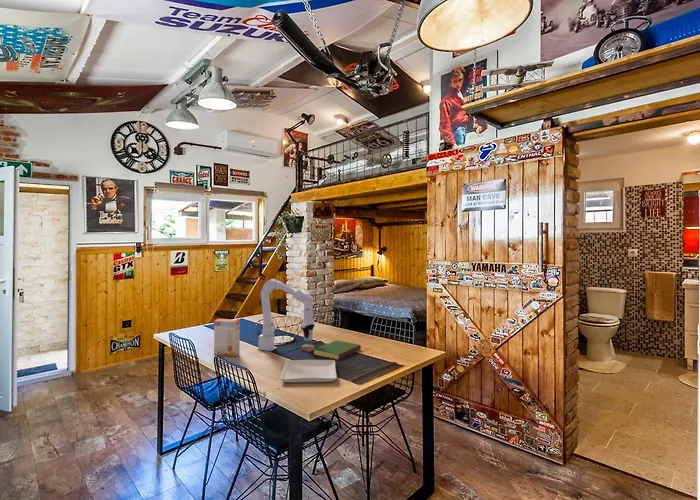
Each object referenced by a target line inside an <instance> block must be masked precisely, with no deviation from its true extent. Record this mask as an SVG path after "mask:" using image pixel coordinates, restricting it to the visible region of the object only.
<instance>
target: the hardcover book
mask: <svg viewBox="0 0 700 500" xmlns="http://www.w3.org/2000/svg"><path fill="white" fill-rule="evenodd" d="M361 349H362V348H361V344H358V343H352V342H347V341H342V340H334V341H331V342H328V343H326V344H323V345H321V346H318V347H316V348H315V347H314V350H313V355H315V356H320V357H324V358H328V357H329V358H330V359H333V358H334V359H333V360H338V361H340V360H342V359H344V358H346V357H345V356H347V355H349V354H351V353H353V354H355V353H356V351H357V352H359V351H361ZM358 350H359V351H358ZM354 352H355V353H354ZM351 355H352V354H351ZM349 356H350V355H349ZM343 357H344V358H343ZM347 357H348V356H347ZM341 358H342V359H341ZM339 359H340V360H339Z"/></svg>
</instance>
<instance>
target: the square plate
mask: <svg viewBox="0 0 700 500" xmlns="http://www.w3.org/2000/svg"><path fill="white" fill-rule="evenodd" d="M282 368H283V369H282V372H281V374H280V377H279V379H280V381H281V382H284V383H327V382H328V383H330V382H333V381H335V380H336V379H337V378H338V376H337V370H336V359H298V360H297V359H296V360H295V359H293V360H291V359H290V360H285V362H284V365H283V367H282Z"/></svg>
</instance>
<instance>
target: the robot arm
mask: <svg viewBox="0 0 700 500" xmlns="http://www.w3.org/2000/svg"><path fill="white" fill-rule="evenodd" d="M274 290H281V291H284V292H286V293H288V294H290V295H292V298H293V299H295V300H296V301H298V302H301V303H302V304H303V322H302V324H301V327H300V328H301V330H302V332H303V338H304V337H305V338H308V336H309V330H313V331H314V328H315V320H314V318H313V317H314V308H313V307H314V306H313V305H314V304H313V303H314V298H313V296H312V295H309V293H304V292H303V291H302V289H294V288H293V287H291V286H289V285H287V284H285V283H284V282H282V281H281V280H278V279H276V278H271V279H269V280H267V281H265V283H263V286H262V288H261V290H260V300H261V310H262V318H263V322H262V329H261V333H262V334H260V335H259V336H258V345H257V346H258V348H257V350H260V351H267V352H273V351H274V350H275V349H277V348H278V347H277V346H275V330H276V325H275V324H274V320H273V319H272V309H271V301H270V294H271V293H272V292H273V291H274Z"/></svg>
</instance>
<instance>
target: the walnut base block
mask: <svg viewBox="0 0 700 500" xmlns="http://www.w3.org/2000/svg"><path fill="white" fill-rule="evenodd" d="M300 349H301V351H302V352H308V353H310V352H312V351H314V349H315V345H314V344H307V343H305V344H303V345H301V348H300Z"/></svg>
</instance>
